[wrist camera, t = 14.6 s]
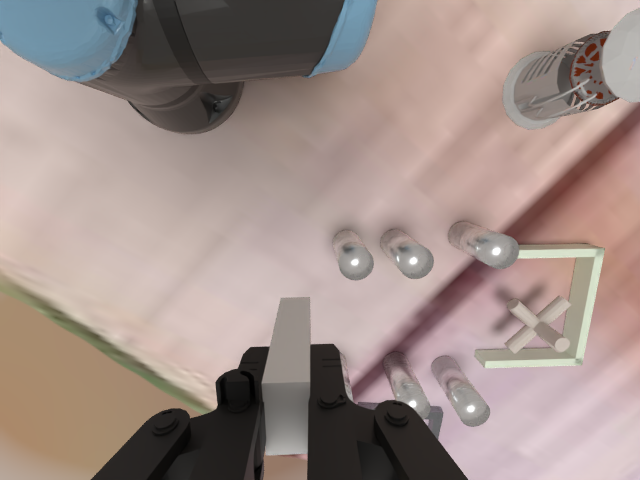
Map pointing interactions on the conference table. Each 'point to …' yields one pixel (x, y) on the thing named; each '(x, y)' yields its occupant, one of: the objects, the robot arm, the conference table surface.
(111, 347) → the conference table surface
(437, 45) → the conference table surface
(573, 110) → the french press
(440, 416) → the hook bar
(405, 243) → the set of silver pegs
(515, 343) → the beige rod cross
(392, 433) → the robot arm
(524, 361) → the corral
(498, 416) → the conference table surface
